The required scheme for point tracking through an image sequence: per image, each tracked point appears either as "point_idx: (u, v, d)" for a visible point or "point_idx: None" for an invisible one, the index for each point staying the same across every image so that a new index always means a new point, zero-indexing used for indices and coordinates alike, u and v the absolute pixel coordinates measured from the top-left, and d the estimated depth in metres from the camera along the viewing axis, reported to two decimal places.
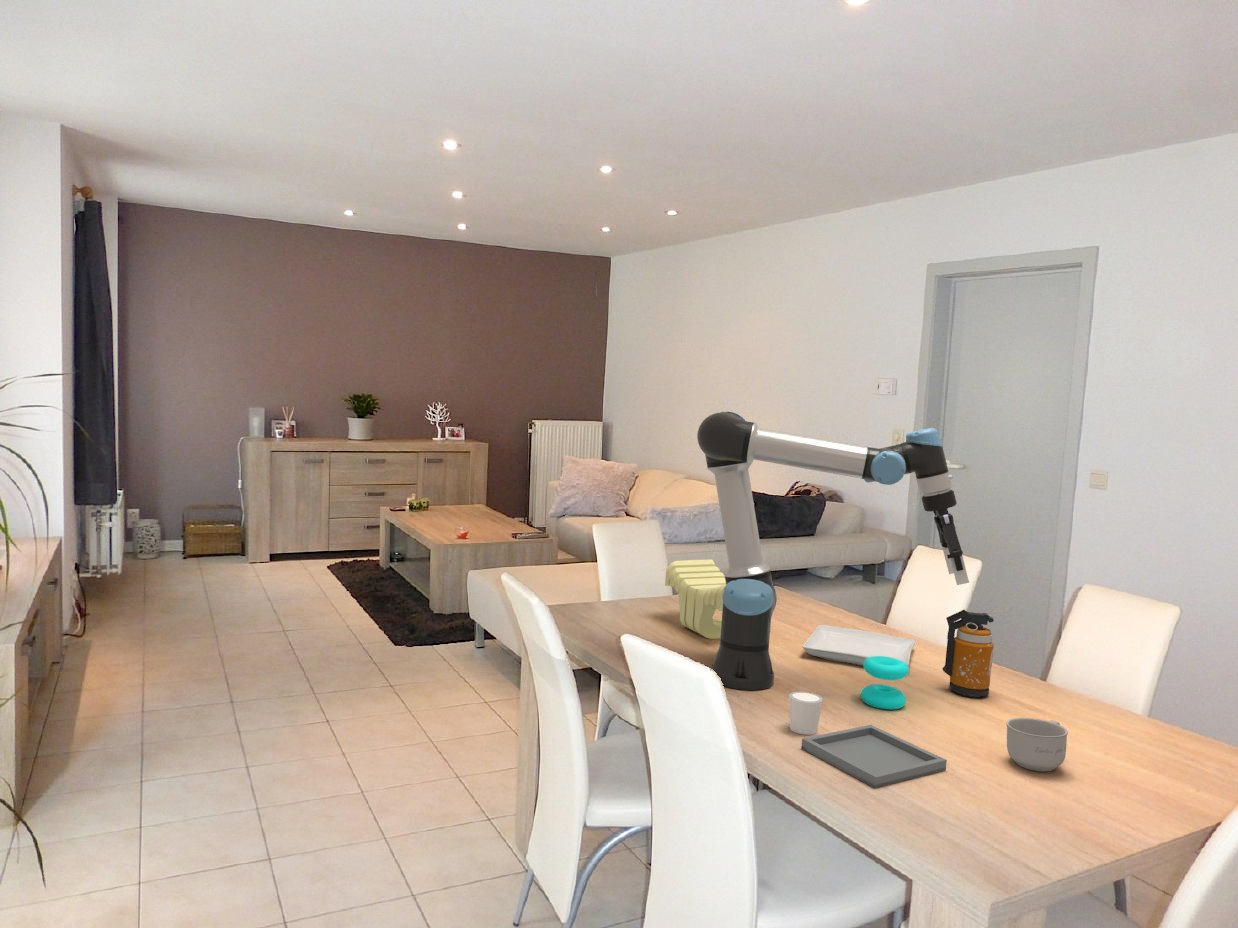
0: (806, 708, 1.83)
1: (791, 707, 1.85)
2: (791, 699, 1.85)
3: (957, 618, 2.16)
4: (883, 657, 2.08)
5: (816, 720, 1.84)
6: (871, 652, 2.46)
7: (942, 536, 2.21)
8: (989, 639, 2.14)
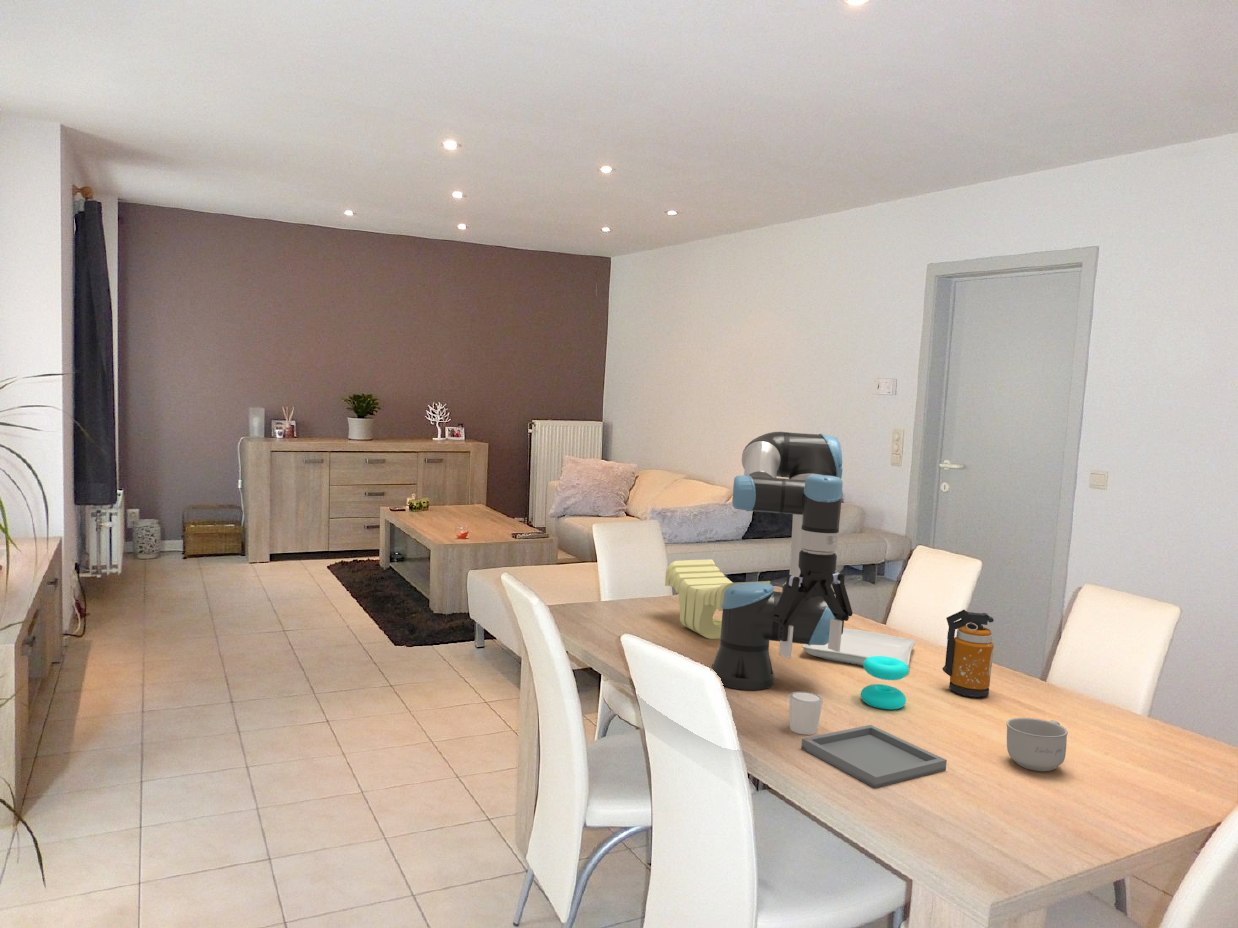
0: (806, 708, 1.83)
1: (791, 707, 1.85)
2: (791, 699, 1.85)
3: (957, 618, 2.16)
4: (883, 657, 2.08)
5: (816, 720, 1.84)
6: (871, 652, 2.46)
7: (827, 603, 1.88)
8: (989, 639, 2.14)
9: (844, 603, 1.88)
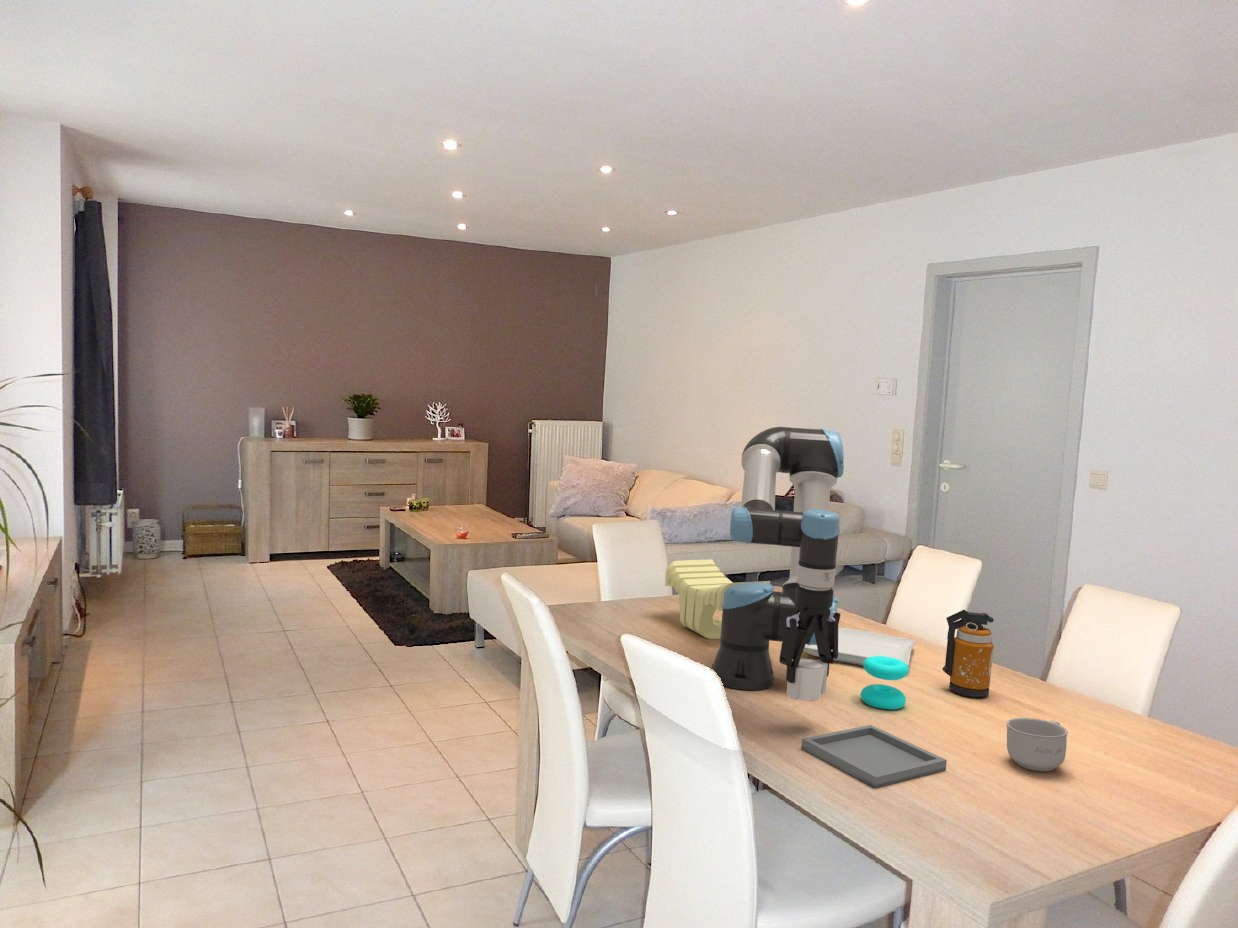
0: (809, 674, 1.83)
1: None
2: None
3: (957, 618, 2.16)
4: (883, 657, 2.08)
5: (819, 686, 1.84)
6: (871, 652, 2.46)
7: (817, 641, 1.88)
8: (989, 639, 2.14)
9: (833, 643, 1.88)
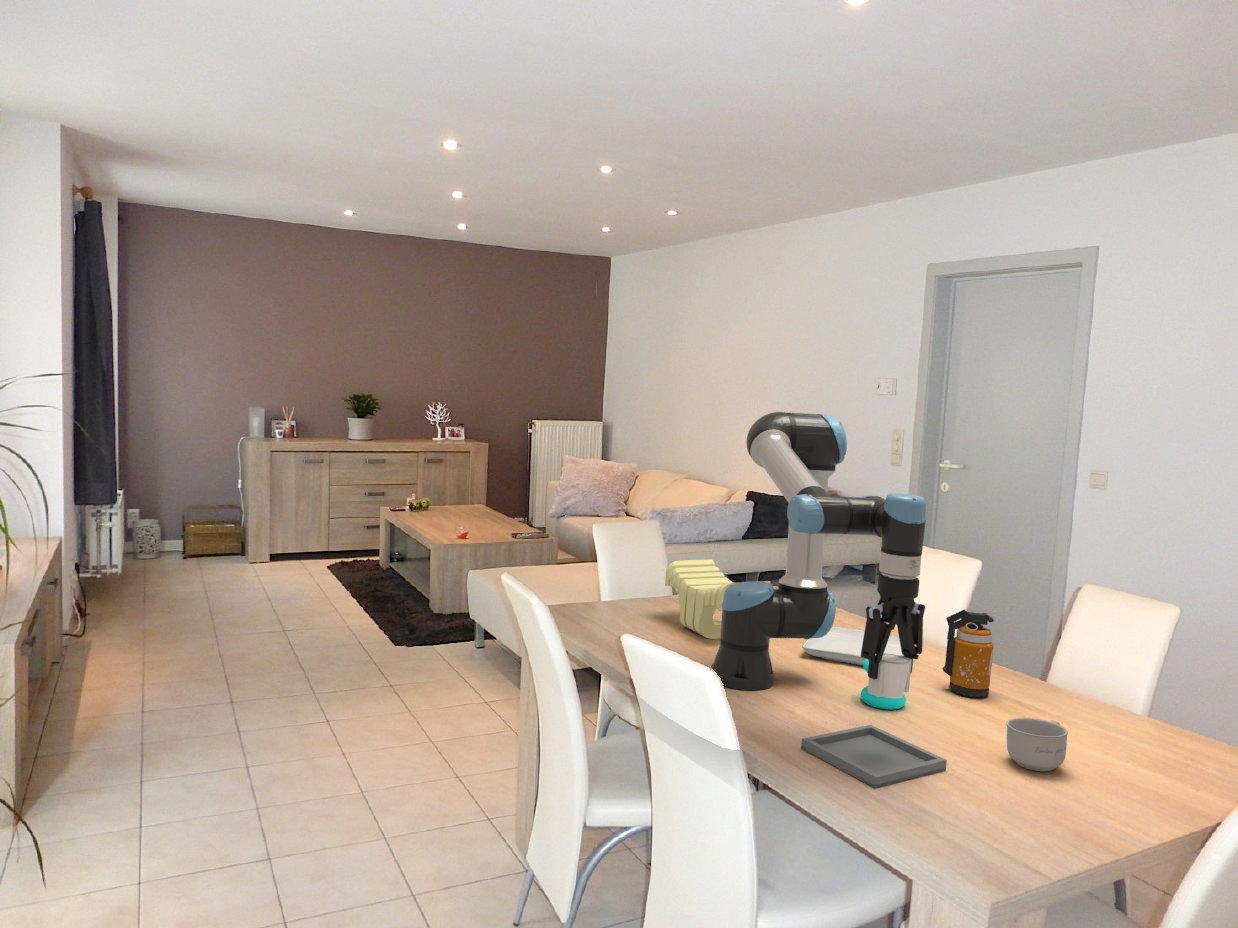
0: (893, 669, 1.70)
1: None
2: None
3: (957, 618, 2.16)
4: None
5: (903, 683, 1.71)
6: None
7: (899, 635, 1.75)
8: (989, 639, 2.14)
9: (917, 637, 1.75)
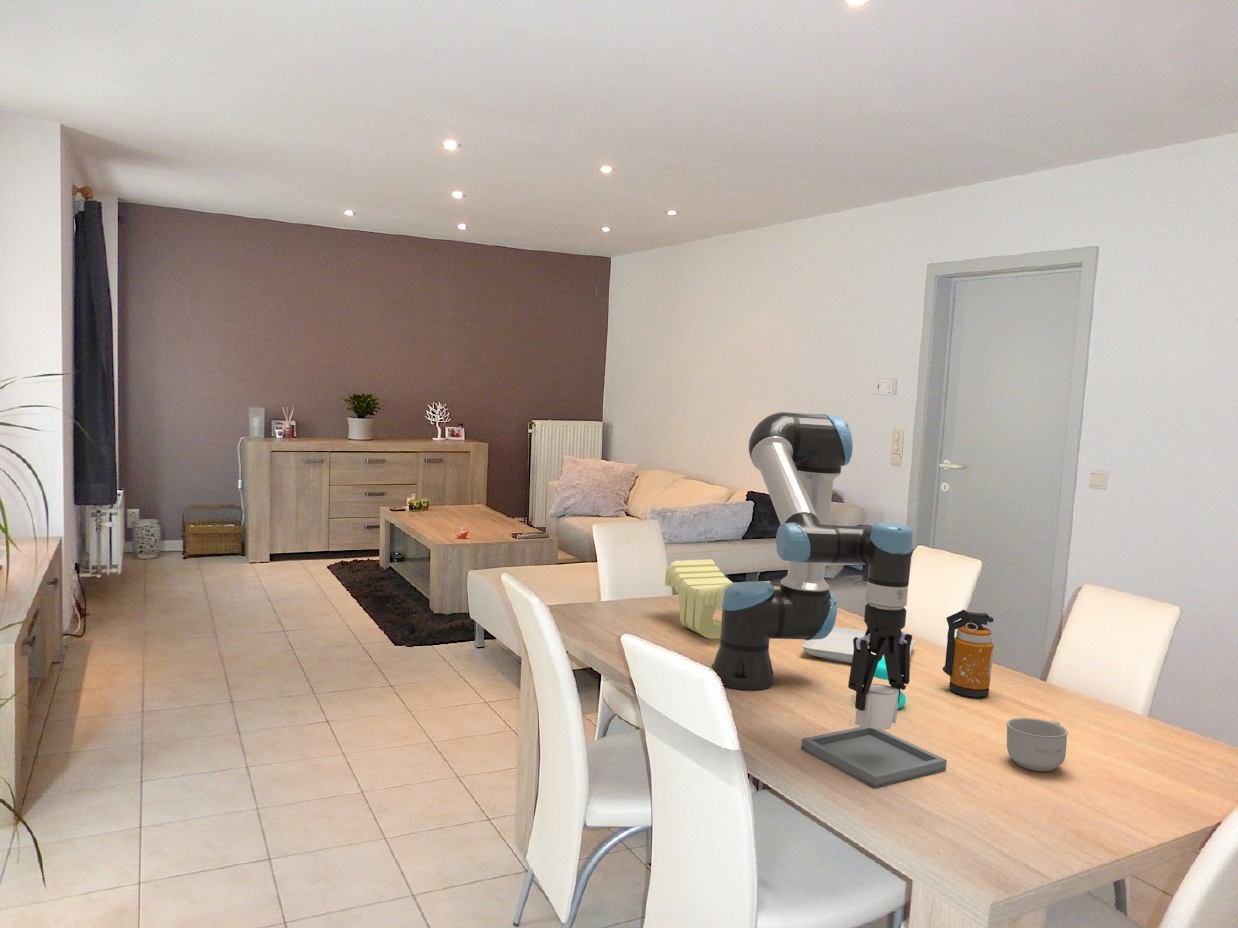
0: (880, 701, 1.69)
1: None
2: None
3: (957, 618, 2.16)
4: (883, 657, 2.08)
5: (891, 714, 1.70)
6: (871, 652, 2.46)
7: (887, 665, 1.74)
8: (989, 639, 2.14)
9: (905, 667, 1.74)
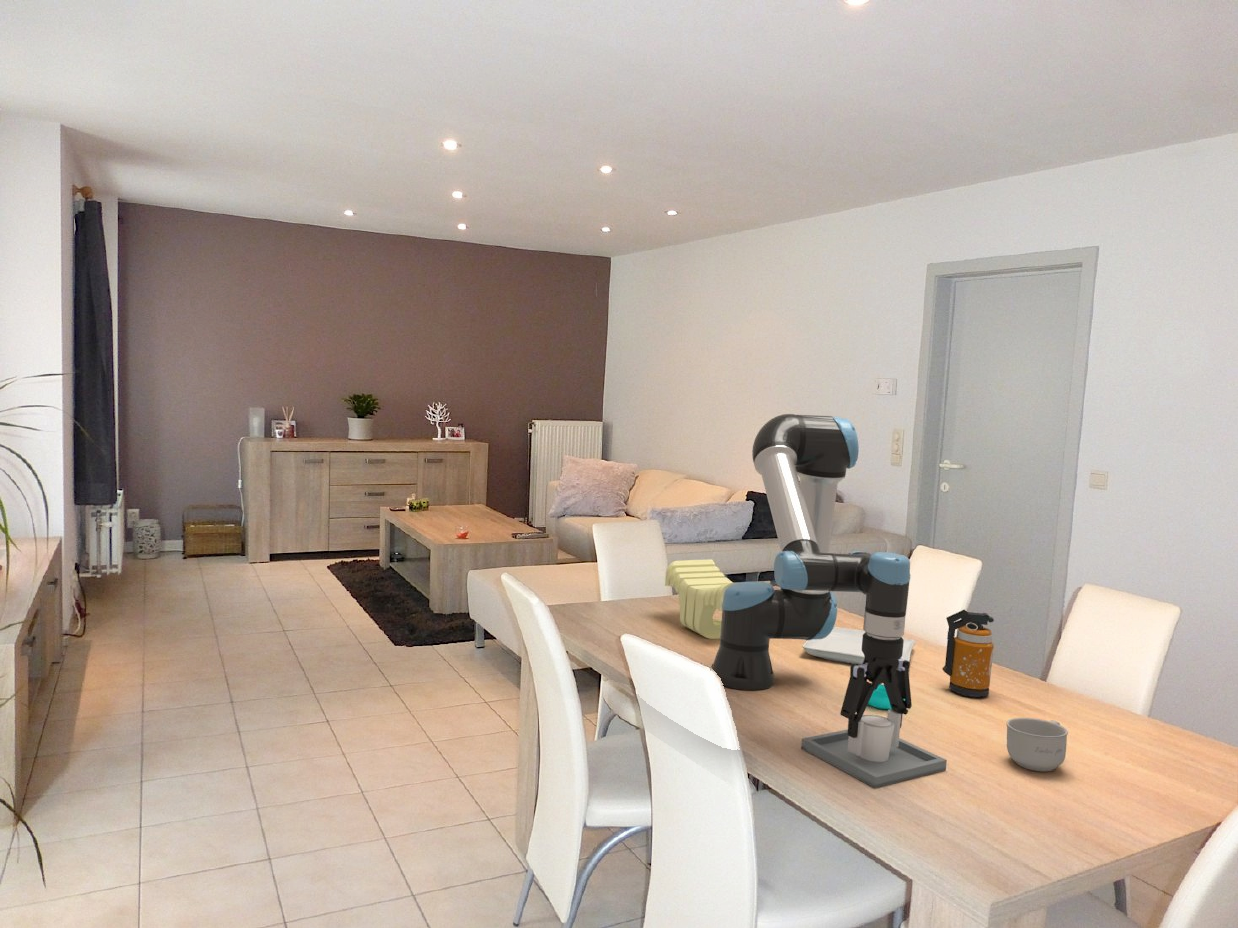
0: (877, 733, 1.70)
1: None
2: None
3: (957, 618, 2.16)
4: None
5: (888, 746, 1.71)
6: None
7: (887, 692, 1.75)
8: (989, 639, 2.14)
9: (905, 693, 1.75)
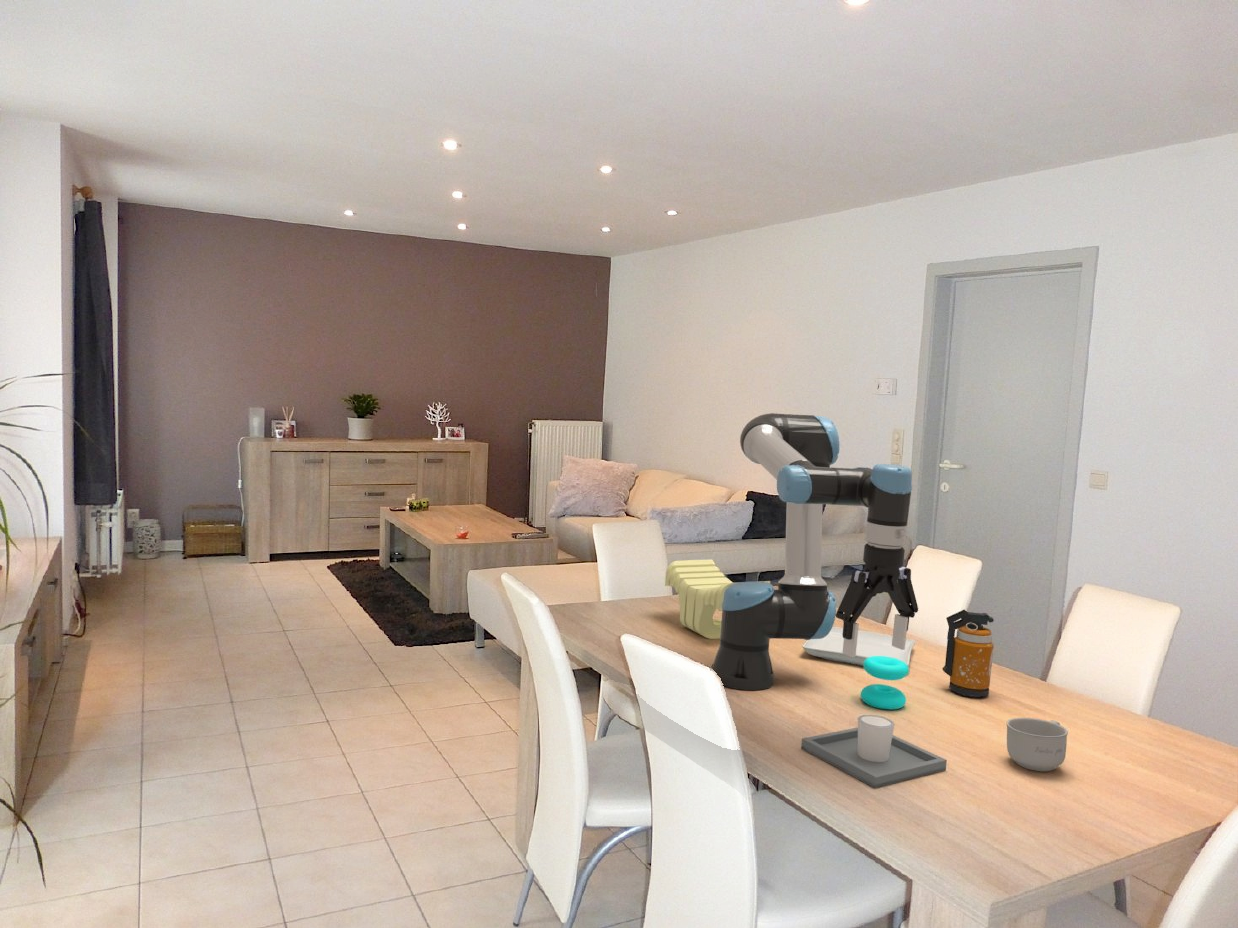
0: (877, 733, 1.70)
1: (860, 732, 1.72)
2: (860, 723, 1.72)
3: (957, 618, 2.16)
4: (883, 657, 2.08)
5: (888, 746, 1.71)
6: (871, 652, 2.46)
7: (892, 599, 1.79)
8: (989, 639, 2.14)
9: (910, 599, 1.78)
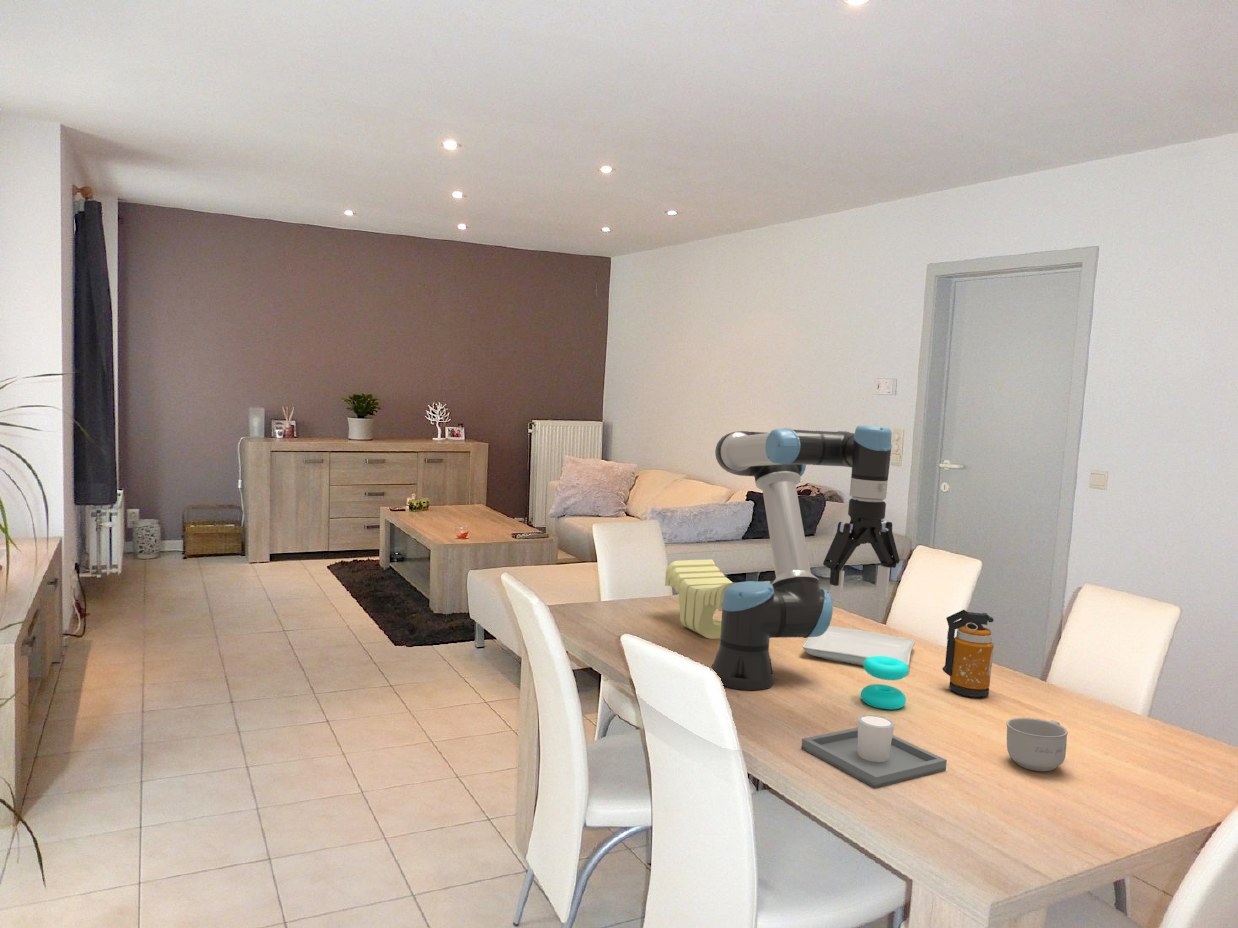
0: (877, 733, 1.70)
1: (860, 732, 1.72)
2: (860, 723, 1.72)
3: (957, 618, 2.16)
4: (883, 657, 2.08)
5: (888, 746, 1.71)
6: (871, 652, 2.46)
7: (875, 551, 1.94)
8: (989, 639, 2.14)
9: (892, 550, 1.94)
